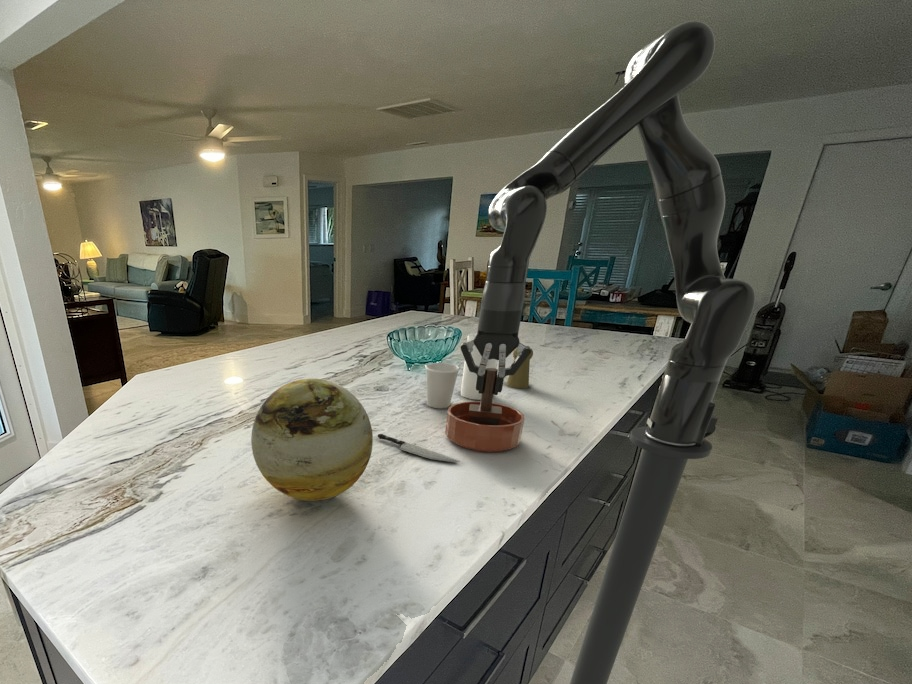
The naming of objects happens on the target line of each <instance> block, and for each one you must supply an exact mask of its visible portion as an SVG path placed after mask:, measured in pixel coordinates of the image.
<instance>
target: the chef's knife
mask: <svg viewBox="0 0 912 684" xmlns="http://www.w3.org/2000/svg"><path fill="white" fill-rule="evenodd" d="M377 437H378V439H380V440H385V441H389V442H391V443H394V444H396V445H399V446H400V447H399V450H401V451H404V452H408V453H410V454H413V455H416V456H420V457H422V458H426V459H429V460H435V461H442V462H448V463H452V462H453V463H455V462H461V461H460V460H457V459H455V458H453V457H449V456H447V455H444V454H441V453H438V452H435V451H433V450H430V449H426V448H424V447H420V446H417V445H416V444H412V443H408V442H407V441H404V440H401V439H397V438H394V437H391V436H389V435H386V434H383V433H378V434H377Z"/></svg>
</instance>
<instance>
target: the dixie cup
mask: <svg viewBox="0 0 912 684" xmlns="http://www.w3.org/2000/svg"><path fill="white" fill-rule="evenodd" d="M424 368H425V378H426V380H425V381H426V405H427V406H428V407H430V408H434V409H448V408H449V407H450V406H451V402H452V398H453V395H454V394H453V393H454V390H455V386H456V382H457V379H458V374H459V371H460V367H459V366H458V365H456V364H453V363H448V362H447V363H446V362H433V363H428V364H426V365H425V366H424Z"/></svg>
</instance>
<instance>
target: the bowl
mask: <svg viewBox="0 0 912 684" xmlns="http://www.w3.org/2000/svg"><path fill="white" fill-rule="evenodd" d="M480 401H481V400H476V401H475V400H473V401H472V400H471V401H462V402H461V401H460V402H457V403H454V404H452V405H450V406H449V407H447V413H446V420H445V429H444V430H445V431H444V434H445V436H446V438H447V439H449V440H450V441H452V442H453V443H454V444H456V445H457V446H460V447H461V448H464V449H468V450H472V451H477V452H487V453H495V452H504V451H507V450H511V449H513V448H515V447H517V446H519V444H520V443H521V441H522V437H523V436H522V434H523V430H524V426H525V414H523V412H521V411H520V410H518V409H516V408H514V407H513V406H509V405H506V404H502V403H497V402H493V404H492V406H498V407H502V416H501V419H500V422H499V426H490V425H481V424H475V423H471V422H469V416H468V415H469V408H470V404H477V405H480Z"/></svg>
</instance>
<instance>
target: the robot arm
mask: <svg viewBox="0 0 912 684" xmlns="http://www.w3.org/2000/svg"><path fill="white" fill-rule="evenodd" d="M715 50H716V39H715V33H714V32H713V30H712V28H711V26H709V25H708V24H707V23H706V22H703V21H701V20H689V21H685V22H682V23H679V24H677V25H676V26H673V27H671V28H670V29H669V30H667V31H665V32H663V33H662V34H661V35H659V36H658V37H657V38H655V39H653V40H652V41H651V42H649V43H647V44H646V45H645V46H643V47H642V48H641V49H639V50H638V51H636V53H635V54H634V55H633V56H632V57H631V58H630V60H629V62H628V63H627V66H626V69H625V72H624V75H623V87H622V88H620V89H619V90H618V91H617V92H616V93H615V94H614V95H613V96H612V97H610V98H608V100H607V101H606V102H604V103H602V105H600V107H598V108H596V109H595V110H594V111H593V112H592V113H590V114H589V115H588V116H587V117H586V118H584V119H583V120H582V121H581V122H579V123H578V124H576V126H574V127H573V128H572V129H571V130H569V131H568V132H567V133H566V134H565V135H564V136H563V137H562V138H561V139H560V140H559V141H557V142H556V144H555V145H553V146H552V147H551V148H550V149H549V150H548V151H547V152H546V153H545V154H544V155H543V156H542V157H541V158H540V159H539V160H538V161H537V162H536V163H535V164H534V165H532V166H531V167H530V168H528V169H526V170H525V171H524V172H522V173H521V174H519V175H518V176H517V177H515V178H514V179H512V181H510V182H509V183H508V184H506V185H505V186H504V187H502V188H501V190H500V191H499V192H497V194H496V195H495V196H494V198H493V199H492V200H491V203H490V205H489V208H488V211H487V220H488V222H489V224H490V226H491V227H492V228H493V229H495V230H496V231H497V232H502V233H503V236H502V238H501V242H500V245H498V247H495V248H493V249H492V251H491V252H490V254H489V258H488V262H487V268H486V277H485V284H484V287H483V291H482V296H481V300H480V310H479V315H478V325H477V332H476V333H477V334H476V336H475V337H474V340H472V341H469V342H467V341H466V342H465V341H463V342H462V343H461V344H460V350H461V353H462V356H463V359H464V362H465V361H466V364H467V366H468V369H469V371H470V372H474V373H476V374H477V382H476V390H478V391H479V393H481V394H482V390H483V384H484V377H485V376H484V375H485V374H484V372H485V369H486V365H487V362H488V360H490V359H496V360H498V372H497V378H496V384H495V390H494V396H498V395H499V394H500V393H502V391H503V386H504V381H505V378H506V377H509V375H514V374H515V373H516V371H517V370H518V369H519V367H520V366H521V365H522V364H523V362H524V361H525V360H526V358H527V357H528V356H529V354H530V353H531V349H532V348H531V347H530V346H528V345H524V344H523V343H521V341H520V337H519V331H520V325H521V320H522V314H523V309H524V304H525V299H526V298H525V296H526V282H527V276H528V270H529V265H530V258H531V256H532V253H533V251H534V249H535V247H536V244H537V242H538V239H539V237H540V235H541V232H542V229H543V227H544V224H545V221H546V217H547V210H548V203H547V200H549V199H551V198H555V197H557V196H560V195H562V194H563V193H564V192H566V191H567V190H569V188H570V187H572V186H573V185H574V184H575V183H576V182H577V181H578V180H579V179H580V178H581V177H583V175H585V174H586V173H587V172H588V171H589V170H590V169H591V168H592V167H593V166H594V165H595V164H596V163H597V162H598V161H599V160H600V159H601V158H602V157H604V156H605V155H606V154H607V153H608V152H609V151H610V150H611V149H612V148H613V147H614V146H615V145H616V144H617V143H618V142H620V141H621V140H622V139H623V138H624V137H625V136H626V135H628V134H629V133H630V132H631V131H632V130H633V129H634V128H635V127H636V128H637V131H638V134H639V135H640V136H639V137H640V139H641V142H642V146H643V149H644V152H645V157H646V161H647V165H648V169H649V172H650V175H651V179H652V183H653V188H654V193H655V199H656V203H657V204H656V205H657V208H658V212H659V217H660V220H661V224H662V227H663V230H664V234H665V239H666V244H667V247H668V250H669V255H670V258H671V263H672V267H673V268H672V270H673V276H674V286H675V296H676V297H675V298H676V306H677V311H678V313H679V315H680V316H681V318H682V319H683V320H684V321H686V322H687V323H689V324H691V327H690V328H689V331H688V334H687V336H686V338H685V339H684V340H683V342H679V343H676V344H674V345H673V347H672V348H671V350H670V353H669V357H668V360H667V362H666V366H665V369H664V372H663V376H662V379H661V382H660V385H659V389H658V392H657V396H656V398H655V401H654V405H653V408H652V411H651V414H650V417H647V420H646V424H647V426H646V427H647V429H646V431H645V436H646V437H647V438H648V439H650V440H652V441H654V442H657V443H660V444H664V445H668V446H673V447H694V446H696V447H701V444H702V441H703V439H706V438H708V437H709V436H711V435H712V434H714V433H715V431H716V429H717V428H716V427H717V426H716V425H717V422H718V417H717V416H715V415H714V411H715V408H716V406H717V404H716V402H714V401H713V400H714V398H715V395H716V393H717V389H718V387H719V384H720V381H721V378H722V375H723V373H724V370H725V367H726V365H727V362H728V360H729V358H730V357H731V356H732V355H733V354H734V353H735V351H736V350H737V349H738V347H739V345H740V343H741V341H742V339H743V336H744V334H745V331H746V329H747V326H748V325H749V323H750V320H751V318H752V315H753V312H754V309H755V305H756V299H757V297H756V290H755V288H754V287H753V286H752V285H751V284H750V283H749V282H747V281H745V280H741V279H735V278H729V277H726V276H725V274H724V271H723V269H722V265H721V262H720V257H719V252H718V238H719V234H720V229H721V227H722V222H723V219H724V215H725V210H726V191H725V185H724V181H723V180H724V179H723V175H722V170H721V167H720V164H719V161H718V159H717V157H716V156H715V155H714V153H713V152H712V150H711V149H710V148H709V147H708V146H707V144H705V143H704V142H703V141H702V140H701V139H700V138H699V137H698V136H697V135H696V134H695V133H694V132H693V131H692V129H690V127H689V126H688V124H687V122H686V120H685V118H684V114H683V110H682V106H681V102H680V97H679V94H680V93H682V92H684V91H686V90H687V89H689V88H690V87H691V86H693V85H694V84H696V82H698V80H700V79H701V78H702V76H703V75H704V73H706V71H707V70H708V68H709V66H710V64H711V62H712V60H713V58H714V54H715ZM474 345H475V346H476V348H477V350H478V351H479V353H480V355H481V356H482V358H481V361H480V365H479V366H477V365H475V363H474V360H473V358H472V355H471V352H472V351H473V346H474ZM516 348H518V351H517V355H518V356H517V358H516V359H515V360H514V359H513V361H514V362H513V361H512V363H511V364H510V365H509V367H506V359H507V358H508V357H509V356H510V355H511V354H513V351H514V350H515V349H516ZM530 348H531V349H530Z"/></svg>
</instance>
